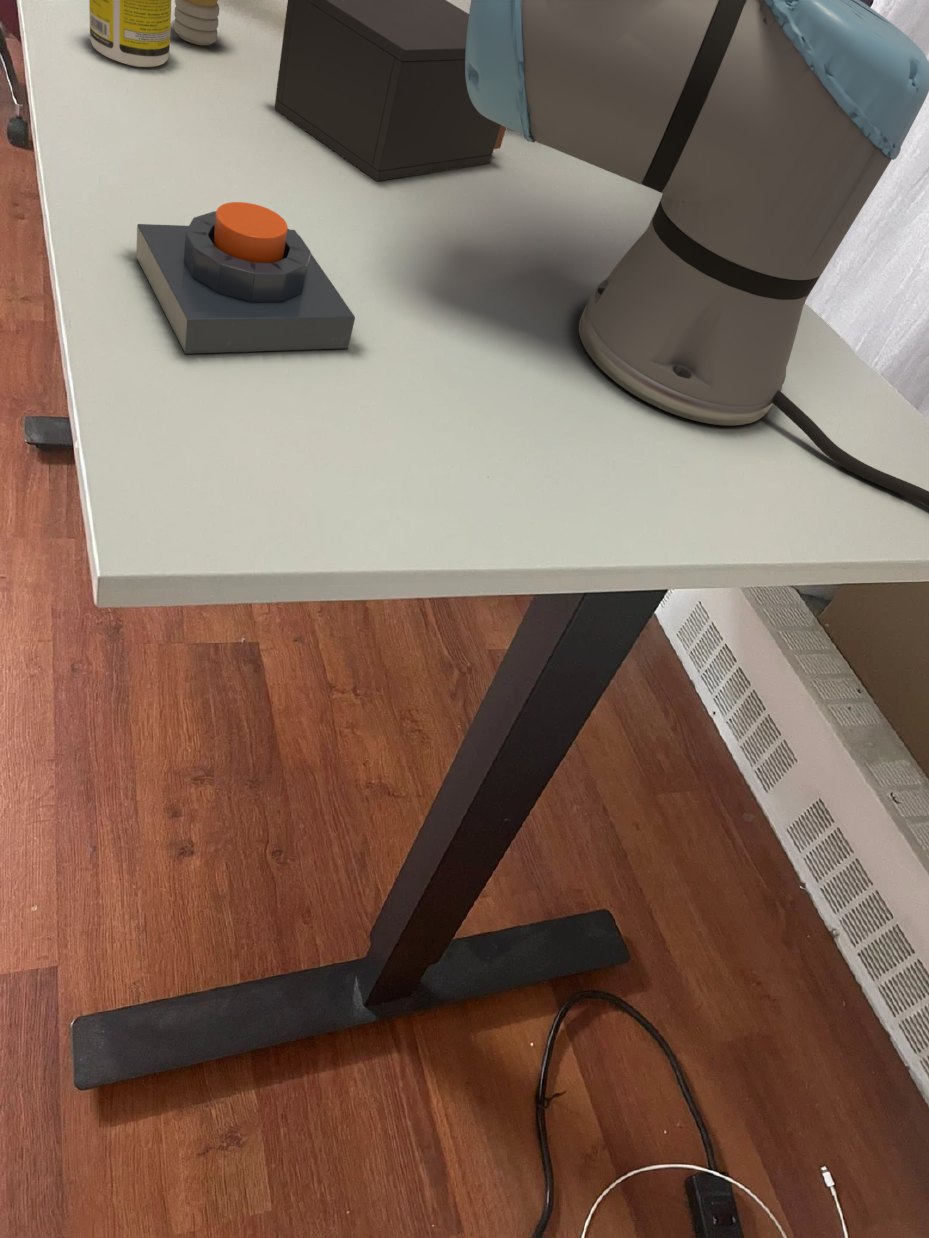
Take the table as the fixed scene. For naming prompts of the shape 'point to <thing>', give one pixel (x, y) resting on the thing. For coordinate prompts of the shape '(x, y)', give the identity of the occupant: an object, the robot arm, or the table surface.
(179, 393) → the table surface
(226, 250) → the button
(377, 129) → the cabinet
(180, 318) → the control box
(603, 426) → the table surface
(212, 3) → the light bulb
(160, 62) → the pill bottle
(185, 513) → the table surface
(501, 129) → the drawer
